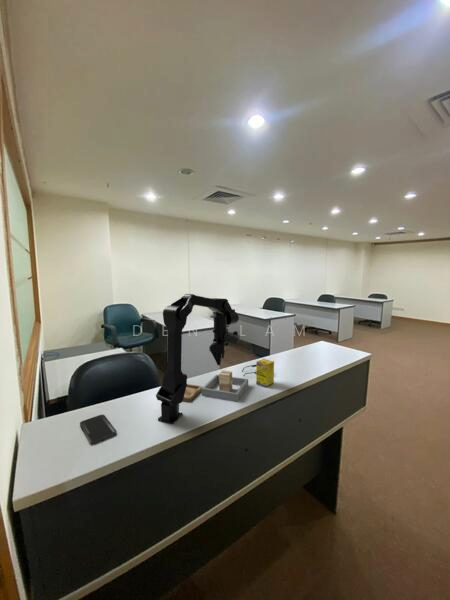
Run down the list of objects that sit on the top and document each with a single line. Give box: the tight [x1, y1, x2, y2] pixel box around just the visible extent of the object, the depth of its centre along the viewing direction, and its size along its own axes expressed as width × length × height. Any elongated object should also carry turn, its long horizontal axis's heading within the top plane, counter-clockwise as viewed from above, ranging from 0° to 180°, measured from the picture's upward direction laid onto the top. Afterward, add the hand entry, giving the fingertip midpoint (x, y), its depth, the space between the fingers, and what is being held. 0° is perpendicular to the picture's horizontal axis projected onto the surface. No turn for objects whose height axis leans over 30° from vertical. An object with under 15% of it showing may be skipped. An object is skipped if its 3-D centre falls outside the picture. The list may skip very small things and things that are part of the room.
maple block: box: [218, 370, 233, 392], centre depth 109 cm, size 4×4×8 cm
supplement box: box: [255, 358, 275, 389], centre depth 115 cm, size 6×6×11 cm
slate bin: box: [201, 374, 249, 402], centre depth 109 cm, size 16×16×3 cm
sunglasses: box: [241, 364, 256, 377], centre depth 128 cm, size 10×12×5 cm
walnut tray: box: [183, 383, 203, 403], centre depth 107 cm, size 12×12×2 cm
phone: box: [79, 414, 117, 446], centre depth 82 cm, size 8×1×15 cm
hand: (220, 361), depth 110 cm, fingers open, 9 cm apart
